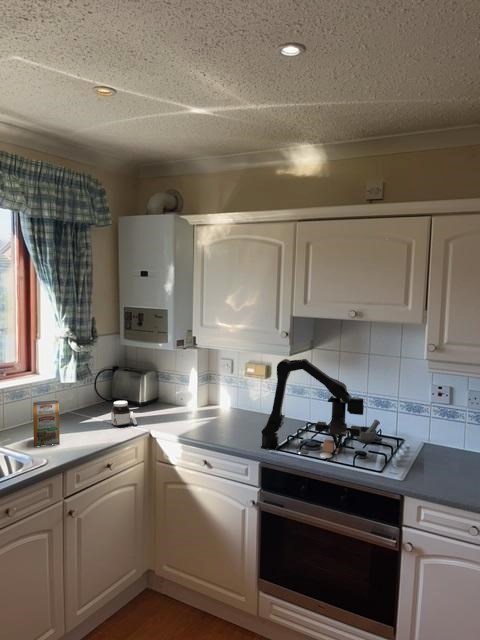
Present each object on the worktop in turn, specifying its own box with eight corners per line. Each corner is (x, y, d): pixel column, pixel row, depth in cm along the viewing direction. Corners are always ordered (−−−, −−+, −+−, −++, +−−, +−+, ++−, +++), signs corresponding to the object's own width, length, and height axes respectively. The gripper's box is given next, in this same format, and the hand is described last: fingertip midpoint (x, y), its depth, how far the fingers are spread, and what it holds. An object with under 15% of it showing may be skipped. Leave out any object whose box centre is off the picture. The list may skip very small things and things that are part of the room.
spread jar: (109, 424, 247) (108, 401, 246) (129, 419, 254) (129, 398, 253) (120, 429, 238) (120, 406, 237) (140, 425, 245) (140, 402, 244)
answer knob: (323, 451, 209) (323, 442, 208) (324, 448, 212) (325, 439, 212) (332, 452, 207) (332, 443, 207) (334, 449, 211) (334, 440, 211)
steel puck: (295, 456, 206) (295, 452, 206) (298, 452, 210) (298, 449, 210) (307, 458, 204) (307, 454, 204) (309, 454, 209) (309, 450, 209)
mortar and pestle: (352, 446, 219) (353, 420, 218) (354, 439, 228) (355, 414, 227) (378, 449, 216) (379, 423, 215) (379, 442, 225) (380, 417, 223)
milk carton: (33, 447, 213) (32, 404, 211) (34, 439, 222) (33, 398, 221) (59, 444, 217) (58, 402, 215) (58, 436, 226) (58, 396, 225)
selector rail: (295, 451, 212) (295, 447, 212) (298, 446, 218) (298, 443, 217) (336, 457, 206) (337, 453, 206) (339, 452, 211) (339, 448, 211)
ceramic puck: (318, 460, 202) (319, 456, 202) (321, 455, 207) (321, 452, 207) (330, 461, 201) (331, 458, 201) (333, 457, 205) (333, 453, 205)
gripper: (313, 415, 203) (311, 451, 204) (358, 420, 196) (357, 458, 198) (318, 408, 213) (316, 443, 215) (361, 413, 207) (360, 449, 208)
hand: (337, 448), depth 208 cm, fingers closed
